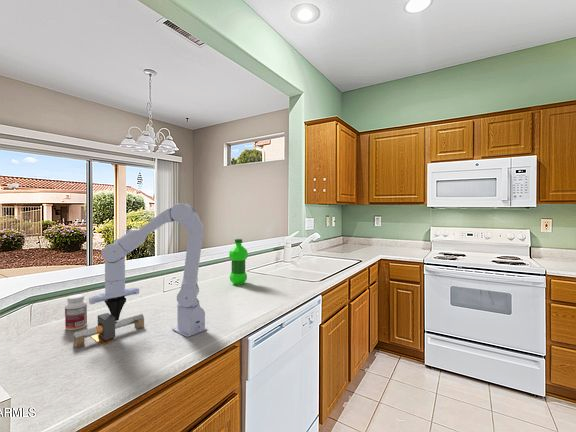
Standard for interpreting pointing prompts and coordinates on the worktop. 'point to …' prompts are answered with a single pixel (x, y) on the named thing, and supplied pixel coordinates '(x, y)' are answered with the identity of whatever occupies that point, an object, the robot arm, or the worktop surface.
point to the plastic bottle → (238, 263)
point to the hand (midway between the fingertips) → (115, 319)
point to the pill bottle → (75, 312)
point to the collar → (107, 326)
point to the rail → (93, 332)
